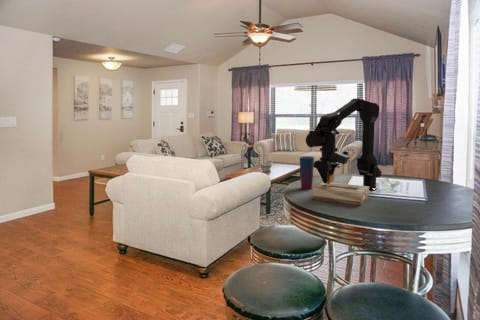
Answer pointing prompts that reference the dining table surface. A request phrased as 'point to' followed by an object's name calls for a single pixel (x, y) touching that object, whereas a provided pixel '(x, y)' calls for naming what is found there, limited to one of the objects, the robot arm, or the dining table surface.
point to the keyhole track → (341, 193)
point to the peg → (329, 179)
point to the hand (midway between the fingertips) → (327, 181)
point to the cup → (306, 172)
